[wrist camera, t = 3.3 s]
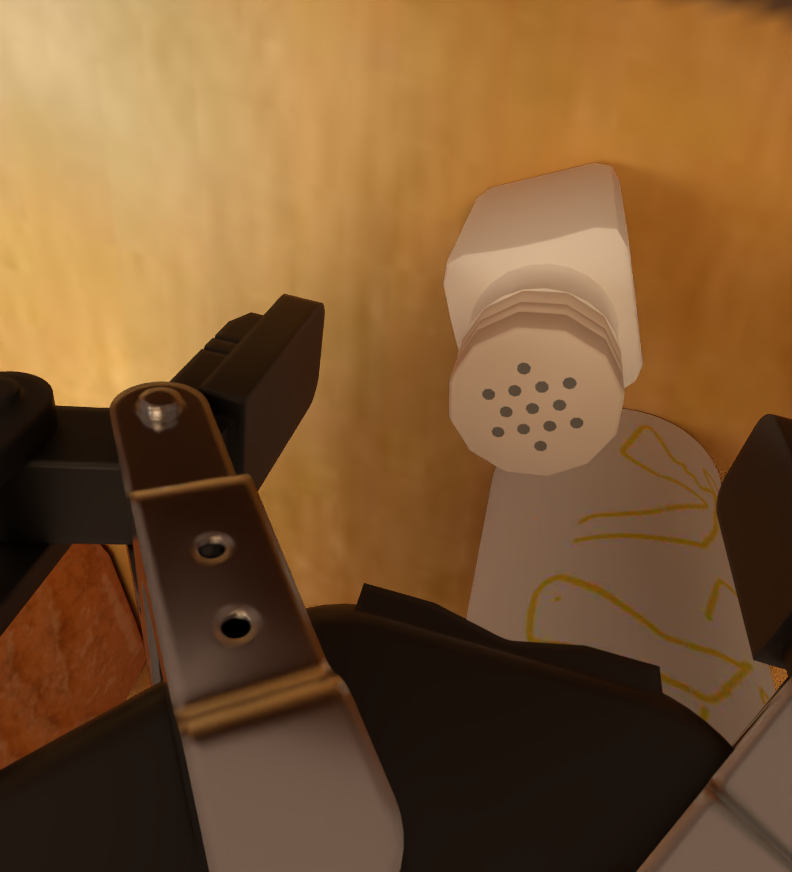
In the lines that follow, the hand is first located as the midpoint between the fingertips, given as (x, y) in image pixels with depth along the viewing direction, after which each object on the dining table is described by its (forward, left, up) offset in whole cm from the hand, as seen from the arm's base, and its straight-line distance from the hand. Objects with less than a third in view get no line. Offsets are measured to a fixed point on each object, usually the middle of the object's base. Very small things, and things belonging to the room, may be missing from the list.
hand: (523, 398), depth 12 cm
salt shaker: (0, 0, -10) cm, 10 cm away
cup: (-1, +10, -10) cm, 14 cm away
